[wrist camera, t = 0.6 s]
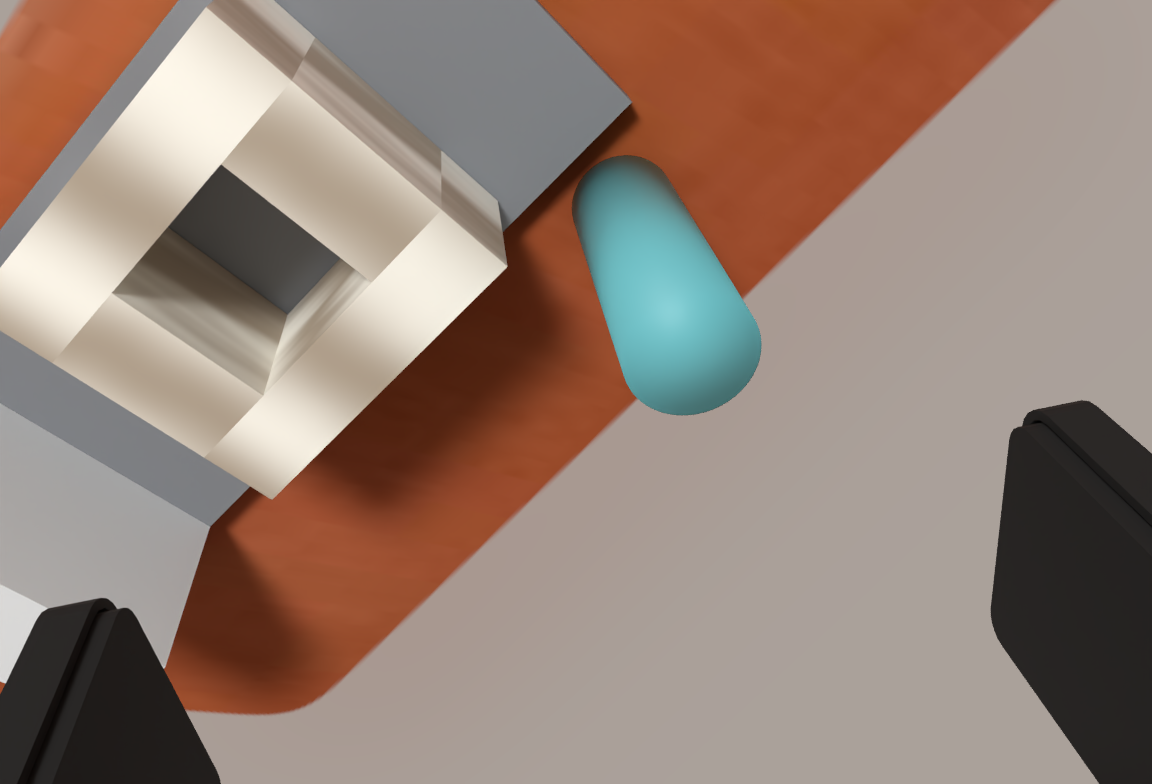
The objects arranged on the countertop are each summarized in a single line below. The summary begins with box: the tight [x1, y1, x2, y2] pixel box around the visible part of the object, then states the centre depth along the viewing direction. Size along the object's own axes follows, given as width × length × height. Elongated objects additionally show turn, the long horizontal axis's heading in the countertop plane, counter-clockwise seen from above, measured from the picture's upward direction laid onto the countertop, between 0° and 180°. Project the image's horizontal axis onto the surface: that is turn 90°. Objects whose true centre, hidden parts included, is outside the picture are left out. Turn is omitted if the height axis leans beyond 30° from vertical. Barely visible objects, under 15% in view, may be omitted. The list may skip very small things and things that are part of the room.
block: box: [0, 0, 508, 500], centre depth 32 cm, size 12×11×6 cm
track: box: [0, 0, 632, 684], centre depth 33 cm, size 29×13×9 cm, turn 135°
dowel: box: [572, 155, 761, 415], centre depth 32 cm, size 4×4×12 cm
